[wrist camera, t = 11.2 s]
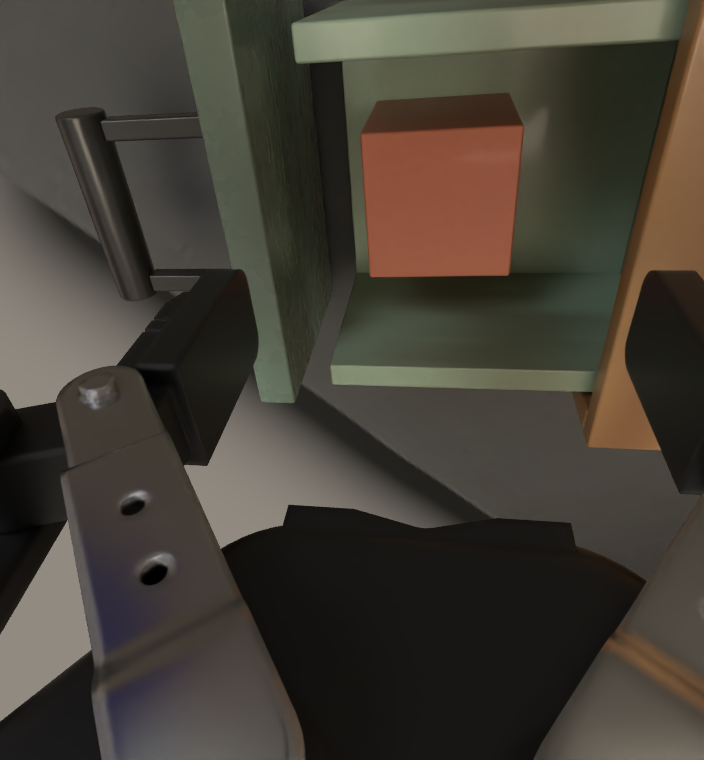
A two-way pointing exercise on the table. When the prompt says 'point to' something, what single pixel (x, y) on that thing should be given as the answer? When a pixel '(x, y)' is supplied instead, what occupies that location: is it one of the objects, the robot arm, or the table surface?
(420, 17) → the storage drawer
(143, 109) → the table surface
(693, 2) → the wooden drawer cabinet
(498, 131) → the block
